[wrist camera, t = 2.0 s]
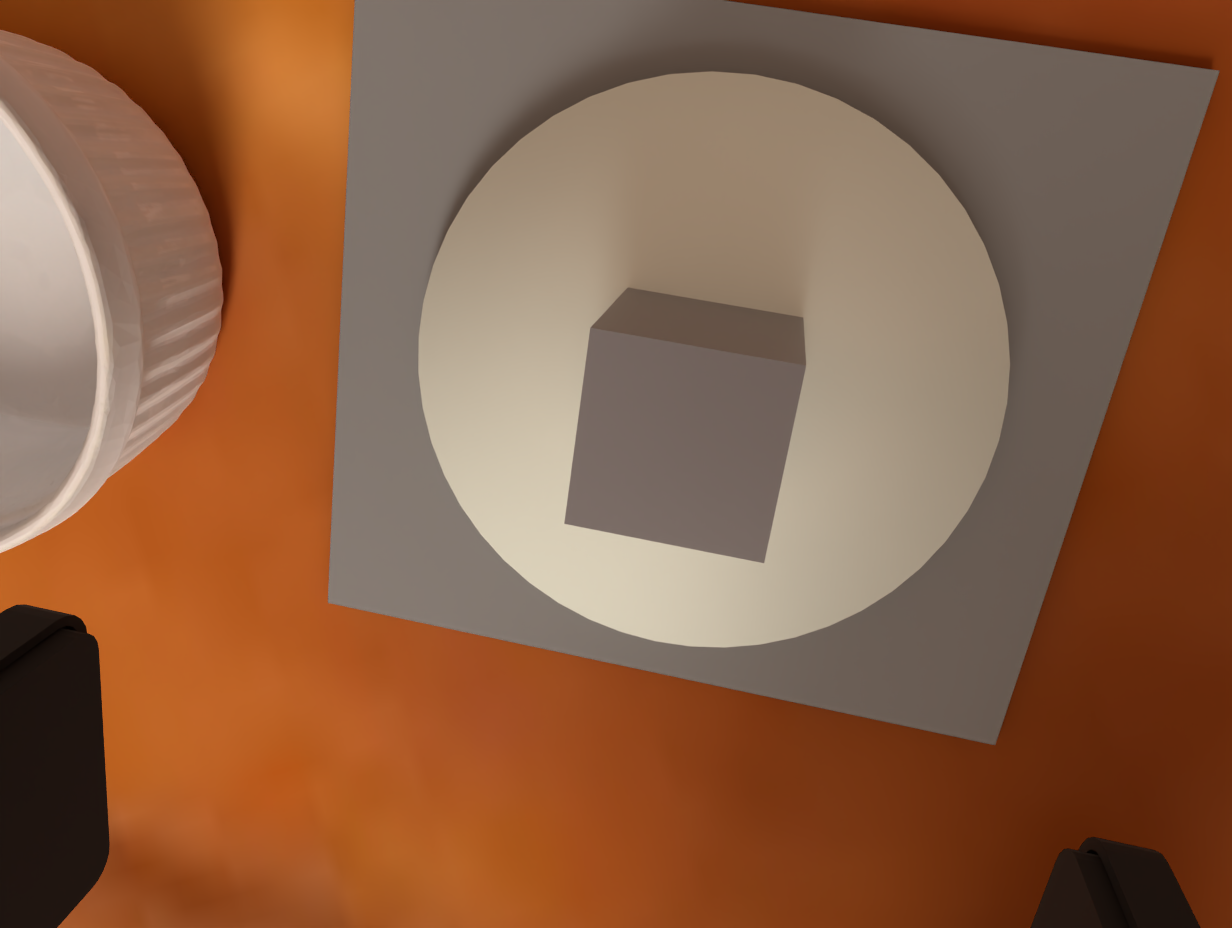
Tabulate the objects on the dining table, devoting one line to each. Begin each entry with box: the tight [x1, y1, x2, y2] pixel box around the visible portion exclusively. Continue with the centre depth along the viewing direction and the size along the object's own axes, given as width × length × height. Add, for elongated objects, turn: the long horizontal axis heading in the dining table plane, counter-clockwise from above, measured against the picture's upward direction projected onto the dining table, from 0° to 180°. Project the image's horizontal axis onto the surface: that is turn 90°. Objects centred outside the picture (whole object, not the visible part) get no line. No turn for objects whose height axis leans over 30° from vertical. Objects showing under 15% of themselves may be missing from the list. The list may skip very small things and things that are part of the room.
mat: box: [328, 0, 1219, 745], centre depth 26 cm, size 20×18×1 cm
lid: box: [418, 71, 1010, 648], centre depth 24 cm, size 15×15×6 cm
